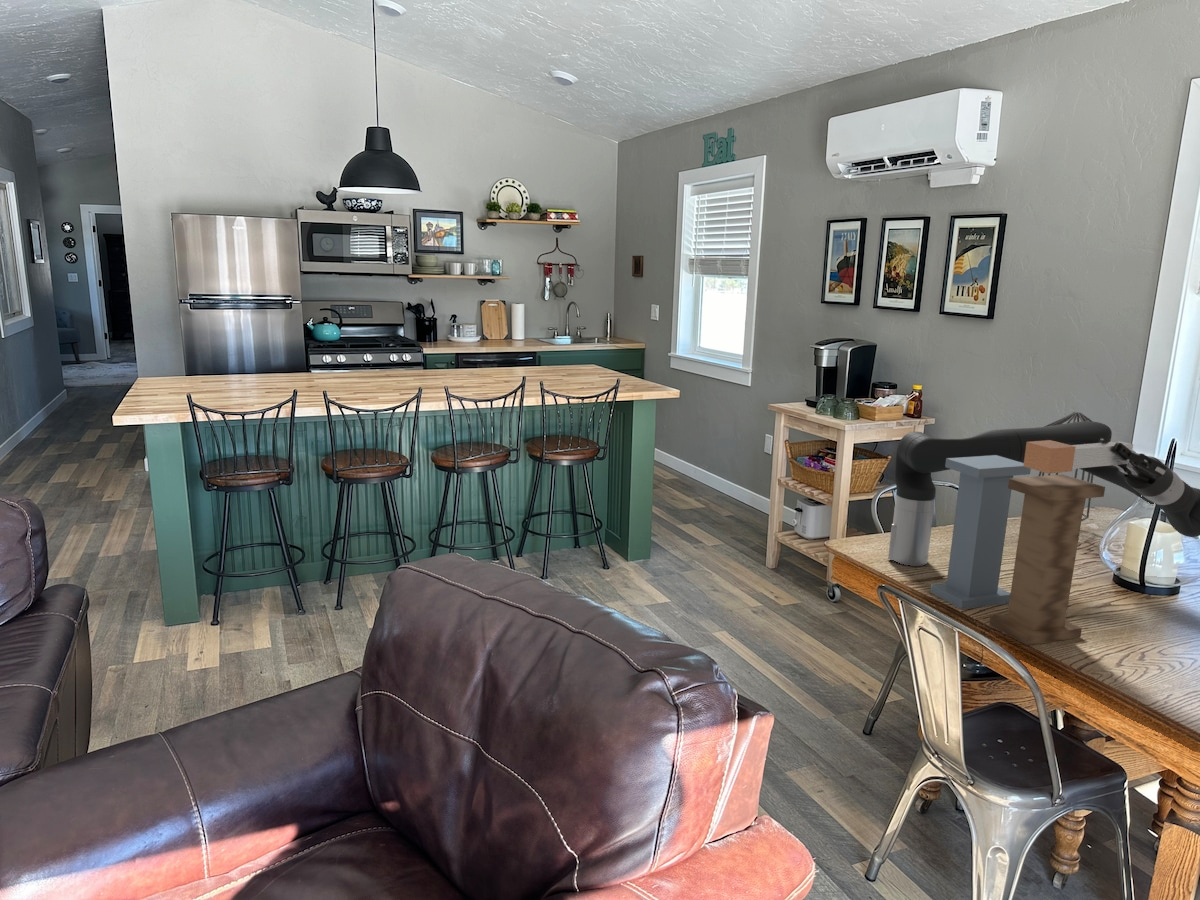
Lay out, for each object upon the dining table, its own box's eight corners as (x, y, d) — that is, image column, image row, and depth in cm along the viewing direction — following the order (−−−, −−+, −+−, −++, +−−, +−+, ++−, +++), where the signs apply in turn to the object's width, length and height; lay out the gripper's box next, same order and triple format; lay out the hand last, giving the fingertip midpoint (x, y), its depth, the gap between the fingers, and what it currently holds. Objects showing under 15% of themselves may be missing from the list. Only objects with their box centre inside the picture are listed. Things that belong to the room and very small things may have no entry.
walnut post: (1040, 617, 176) (1062, 474, 169) (1080, 637, 166) (1105, 487, 159) (989, 624, 171) (1009, 478, 164) (1026, 645, 162) (1049, 491, 155)
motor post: (978, 586, 192) (996, 455, 185) (1011, 602, 183) (1031, 465, 176) (930, 592, 188) (946, 458, 181) (961, 609, 179) (979, 469, 172)
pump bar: (1110, 458, 169) (1114, 435, 168) (1137, 465, 164) (1141, 441, 162) (1023, 466, 162) (1026, 441, 161) (1048, 473, 157) (1051, 448, 155)
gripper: (1177, 506, 164) (1129, 468, 158) (1115, 487, 177) (1068, 452, 171) (1197, 473, 164) (1149, 435, 157) (1133, 458, 177) (1086, 421, 170)
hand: (1107, 444), depth 164 cm, fingers closed on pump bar, 3 cm apart
